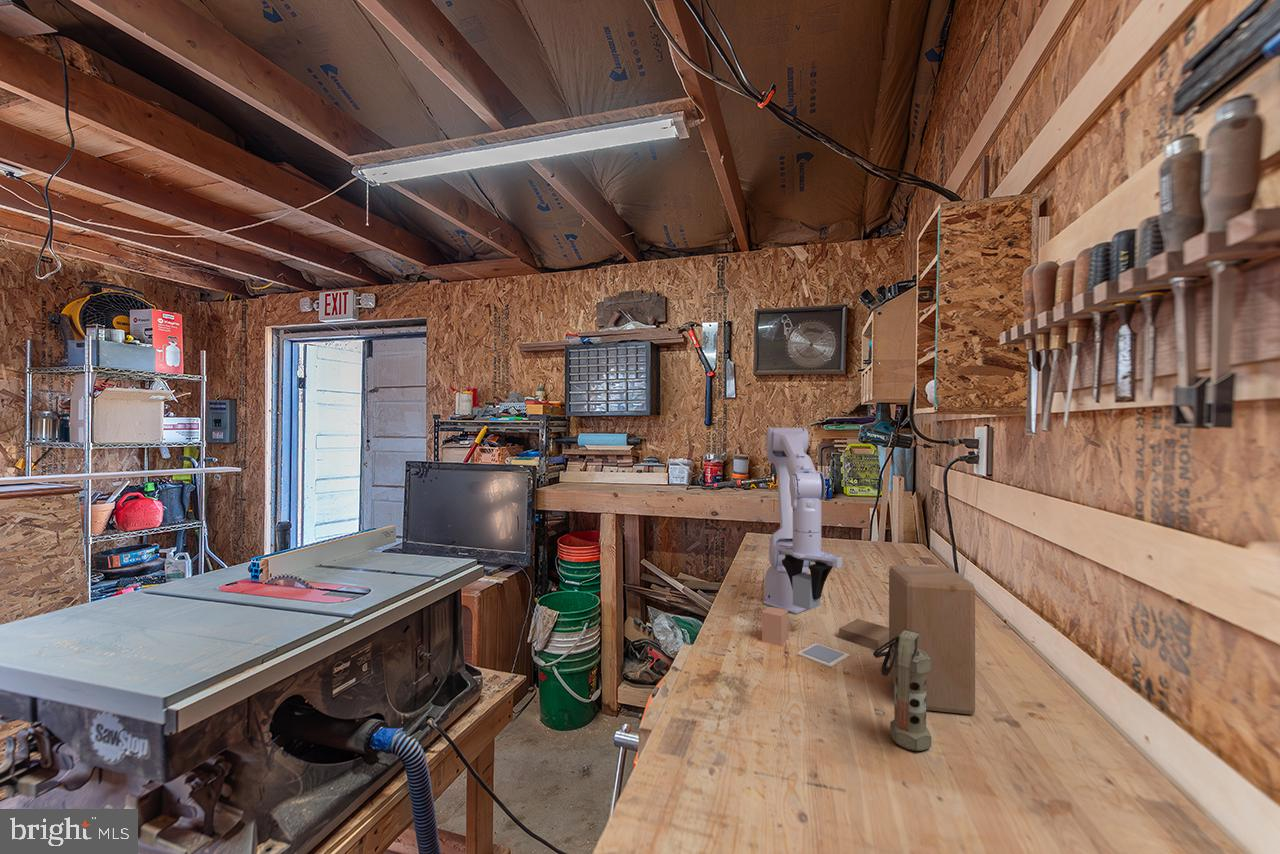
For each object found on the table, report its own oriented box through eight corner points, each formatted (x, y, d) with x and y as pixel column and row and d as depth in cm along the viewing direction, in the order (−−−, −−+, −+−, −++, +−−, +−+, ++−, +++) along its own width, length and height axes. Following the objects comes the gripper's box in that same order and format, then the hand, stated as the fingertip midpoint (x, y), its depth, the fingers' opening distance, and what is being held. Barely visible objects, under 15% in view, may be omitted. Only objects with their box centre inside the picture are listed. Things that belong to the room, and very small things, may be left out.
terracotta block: (761, 641, 103) (762, 612, 103) (768, 635, 106) (768, 606, 106) (781, 646, 101) (781, 616, 101) (787, 639, 104) (787, 610, 104)
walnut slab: (839, 640, 105) (839, 628, 105) (857, 630, 110) (857, 618, 110) (878, 653, 99) (878, 640, 99) (895, 642, 104) (895, 629, 104)
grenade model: (881, 723, 74) (881, 620, 74) (934, 742, 70) (934, 633, 70) (866, 743, 70) (867, 633, 70) (923, 765, 65) (923, 648, 65)
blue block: (792, 604, 106) (792, 576, 106) (803, 600, 109) (802, 572, 109) (810, 610, 103) (809, 580, 103) (820, 605, 106) (820, 576, 106)
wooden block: (978, 718, 76) (978, 583, 76) (905, 710, 78) (905, 579, 78) (951, 685, 86) (951, 566, 86) (887, 679, 88) (887, 563, 88)
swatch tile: (796, 654, 97) (796, 651, 97) (815, 644, 102) (815, 641, 102) (831, 667, 92) (831, 664, 92) (849, 656, 96) (849, 653, 96)
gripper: (766, 527, 109) (766, 590, 109) (829, 538, 98) (829, 609, 98) (784, 523, 113) (784, 584, 113) (847, 533, 103) (847, 600, 103)
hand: (806, 595), depth 106 cm, fingers closed on blue block, 4 cm apart
